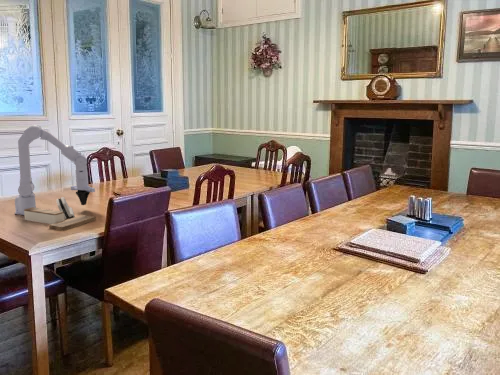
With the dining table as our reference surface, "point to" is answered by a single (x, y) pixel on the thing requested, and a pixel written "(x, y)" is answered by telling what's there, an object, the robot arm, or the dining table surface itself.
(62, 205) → the hinge
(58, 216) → the cabinet
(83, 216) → the door leaf
